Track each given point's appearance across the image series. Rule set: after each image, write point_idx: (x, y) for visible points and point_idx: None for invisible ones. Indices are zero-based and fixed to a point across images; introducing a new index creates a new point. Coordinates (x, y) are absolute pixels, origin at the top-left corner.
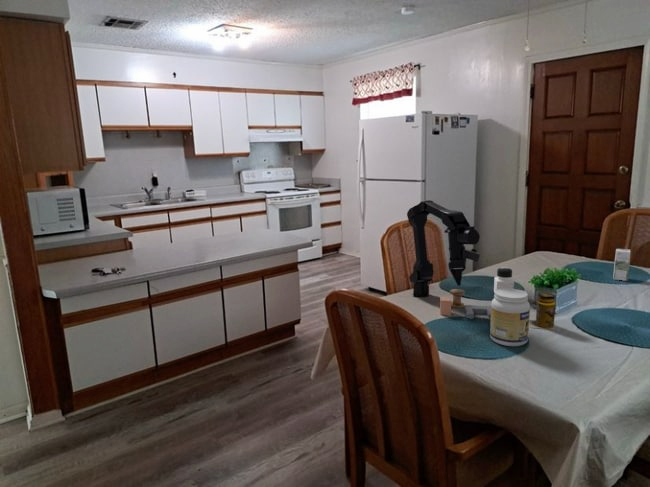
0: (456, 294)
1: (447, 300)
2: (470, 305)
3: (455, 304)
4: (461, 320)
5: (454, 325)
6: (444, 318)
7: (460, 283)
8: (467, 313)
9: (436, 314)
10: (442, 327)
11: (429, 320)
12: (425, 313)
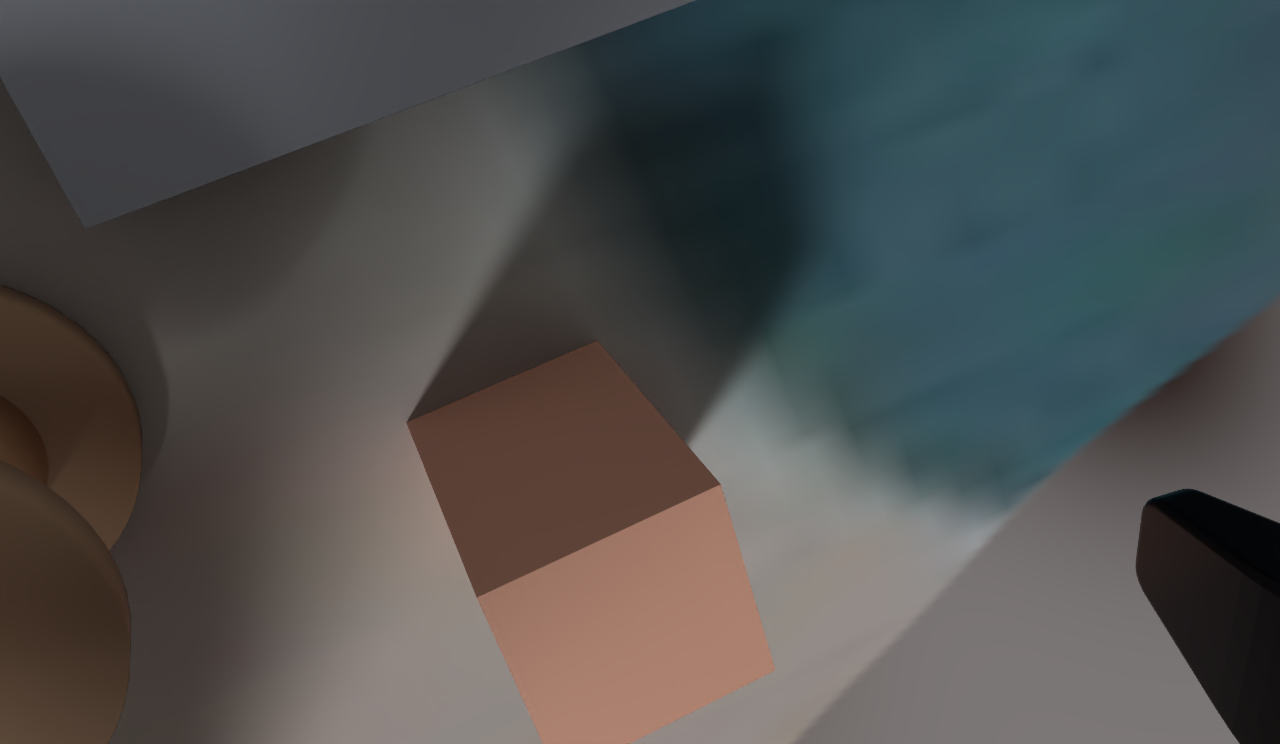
0: (116, 590)
1: (719, 563)
2: (45, 89)
3: (43, 474)
4: (782, 72)
5: (1034, 117)
6: (789, 374)
7: (1267, 525)
8: (683, 3)
9: None
10: (1142, 258)
11: (938, 525)
12: None
